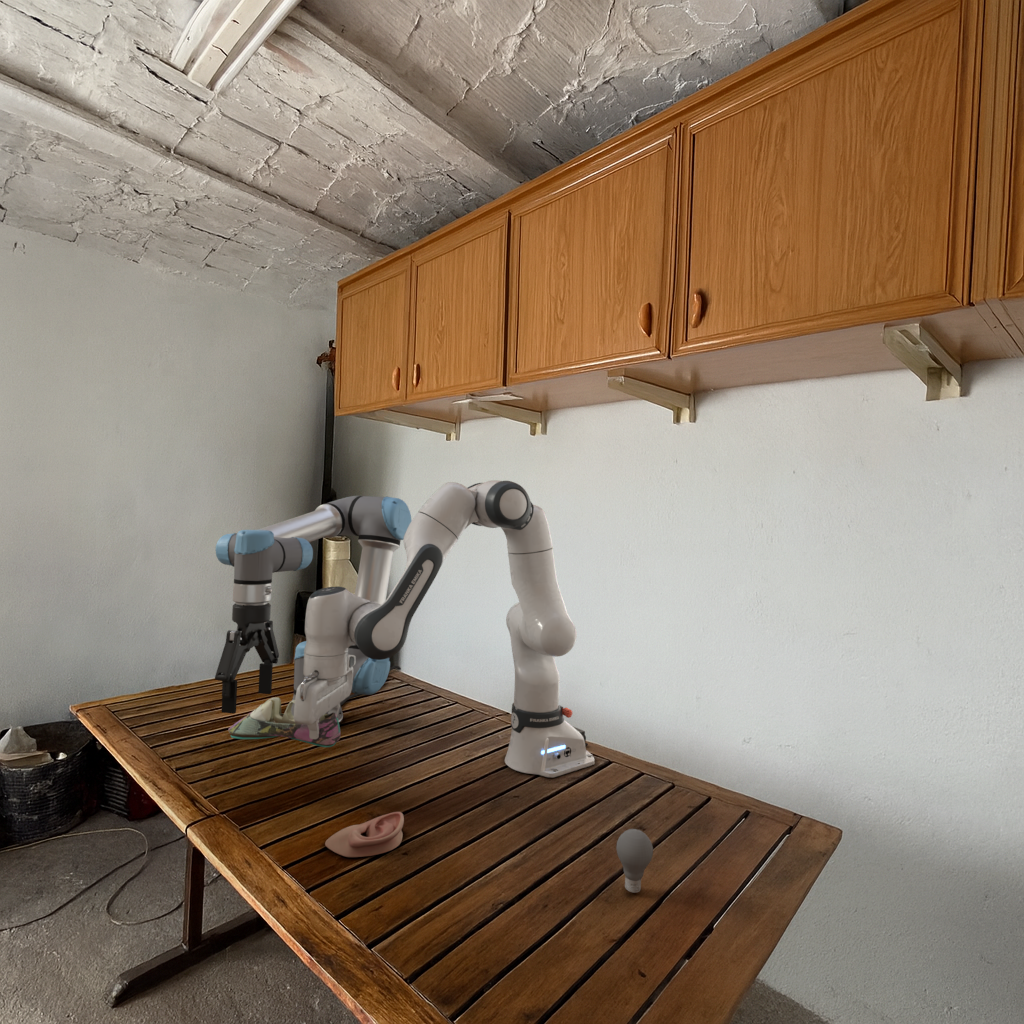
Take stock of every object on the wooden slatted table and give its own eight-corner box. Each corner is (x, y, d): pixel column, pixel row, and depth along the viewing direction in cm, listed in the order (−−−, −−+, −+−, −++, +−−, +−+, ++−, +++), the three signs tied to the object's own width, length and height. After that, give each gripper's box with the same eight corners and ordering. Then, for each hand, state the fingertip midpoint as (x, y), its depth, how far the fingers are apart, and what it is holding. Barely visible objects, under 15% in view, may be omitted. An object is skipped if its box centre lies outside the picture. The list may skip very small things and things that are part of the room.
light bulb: (610, 879, 108) (613, 822, 108) (644, 879, 109) (647, 822, 109) (619, 902, 102) (622, 840, 102) (655, 901, 103) (658, 840, 103)
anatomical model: (317, 830, 113) (346, 800, 124) (316, 852, 113) (345, 821, 124) (387, 841, 110) (410, 810, 121) (386, 864, 110) (410, 831, 121)
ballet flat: (244, 727, 140) (245, 688, 139) (348, 738, 136) (349, 698, 136) (220, 741, 131) (222, 700, 131) (330, 753, 128) (332, 711, 127)
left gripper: (233, 613, 121) (229, 723, 122) (297, 596, 146) (293, 687, 146) (198, 610, 123) (193, 719, 123) (267, 593, 147) (263, 684, 147)
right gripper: (317, 680, 121) (314, 751, 122) (358, 654, 141) (356, 716, 142) (286, 677, 122) (284, 748, 122) (332, 652, 142) (330, 713, 143)
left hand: (247, 702), depth 134 cm, fingers open, 13 cm apart
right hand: (323, 731), depth 132 cm, fingers closed on ballet flat, 6 cm apart
